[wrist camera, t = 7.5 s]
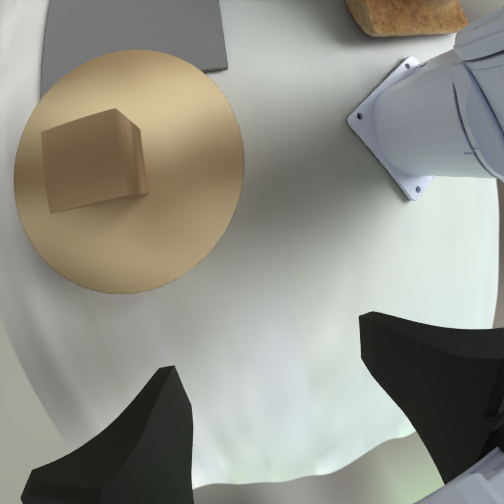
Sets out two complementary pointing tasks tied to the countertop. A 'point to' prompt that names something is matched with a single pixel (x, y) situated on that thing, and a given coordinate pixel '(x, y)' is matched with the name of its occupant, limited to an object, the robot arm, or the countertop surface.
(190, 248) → the oak lid
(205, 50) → the charcoal mat
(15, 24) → the countertop surface
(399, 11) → the stone cup
